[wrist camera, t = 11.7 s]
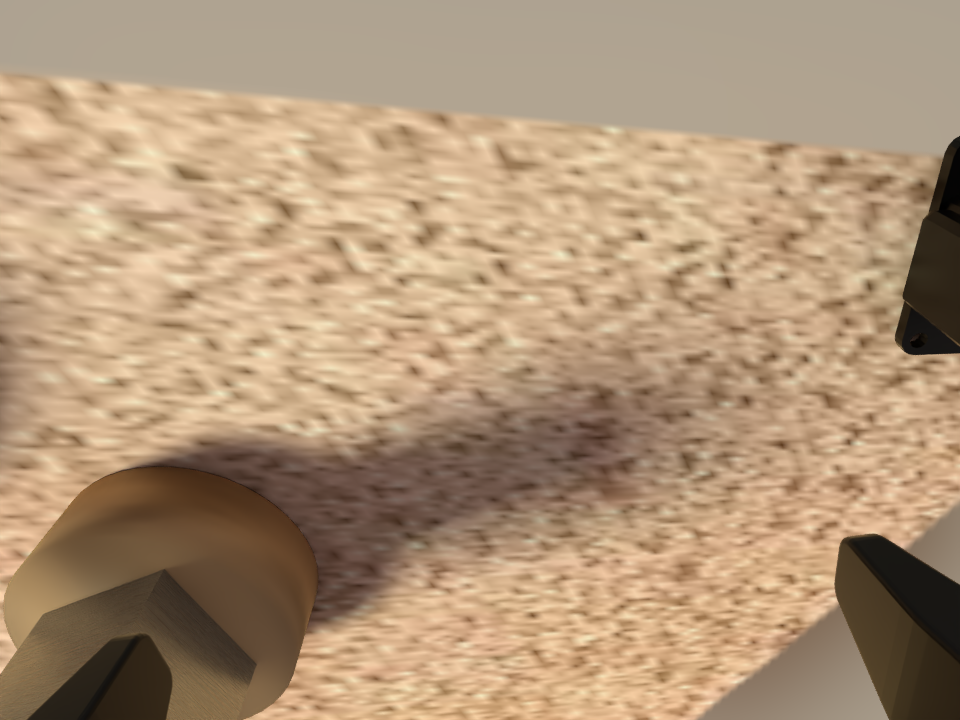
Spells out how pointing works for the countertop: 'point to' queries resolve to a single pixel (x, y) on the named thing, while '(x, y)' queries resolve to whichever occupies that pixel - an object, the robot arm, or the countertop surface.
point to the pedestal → (181, 562)
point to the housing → (126, 610)
